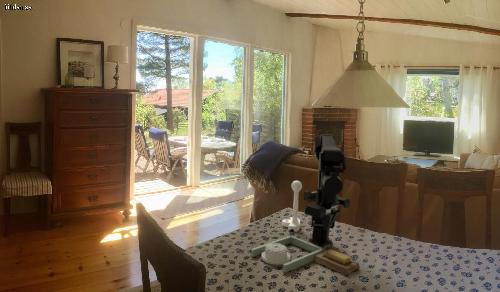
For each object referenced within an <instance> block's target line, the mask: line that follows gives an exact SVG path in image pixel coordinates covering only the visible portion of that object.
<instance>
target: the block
mask: <svg viewBox="0 0 500 292" xmlns="http://www.w3.org/2000/svg"><path fill="white" fill-rule="evenodd" d="M325 258H327V259H330V260H332V261H334V262H337V263H339V264H342V265H344V266H347V265H349V264H350V259H351V256H350V255H349V256H348V255H346V254H343V253H341V252H339V251H336V250H334V249H327V250H326V251H325Z"/></svg>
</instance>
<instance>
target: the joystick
mask: <svg viewBox="0 0 500 292" xmlns="http://www.w3.org/2000/svg"><path fill="white" fill-rule="evenodd" d="M290 186H291V187H290V188H291V189H292V191H293V206H292V216H290V217H289V219H288V218H286V219H282V220H281V225H282V227H284V228H288V231H291V230H293V232H296V233H297V232H298V231H299V230H300V227H301V220H300V218H299V215H298V214H299V194H300V193H299V192H300V191H301V190H302V188H303V184H302V182H301V181H300V180H293V181H292V183H291V185H290Z"/></svg>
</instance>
